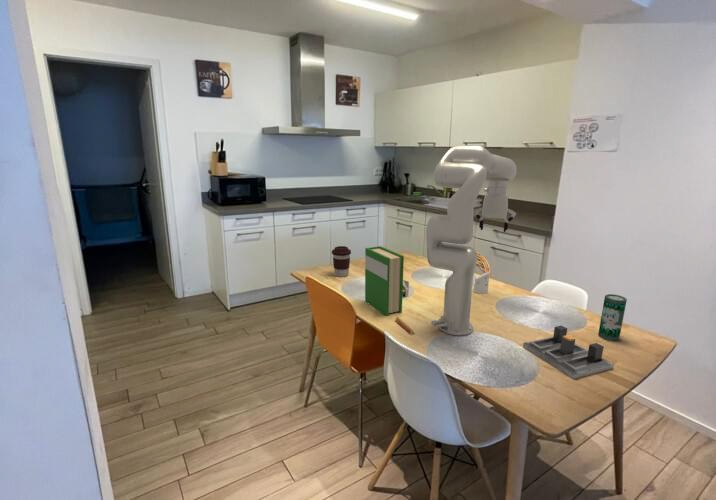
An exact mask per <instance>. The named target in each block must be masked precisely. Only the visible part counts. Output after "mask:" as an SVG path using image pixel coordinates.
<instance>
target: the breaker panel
mask: <svg viewBox="0 0 716 500" xmlns="http://www.w3.org/2000/svg"><path fill="white" fill-rule="evenodd" d="M567 333H568V327H566V326H563V325H556V326H555V327H554V330H553V336H550V337H546V338H545V337H544V338H541V339H540V338H539V339H535V340H532V341H526V342H523V343H522V344H523V345H522V348H523V349H525V350H527V351H529V353H531V354H532V355H534V356H536V357H538V358H539V359H541V360H542V361H544V362H546V363H548V364H549V365H551V366H553V368H555V369H557V370H559V371H561V373H563V374H565V375H567V376H568V377H570V378H571V379H573V380H577V379H580V378H583V377H588V376H591V375H594V374H599V373H601V372H605V371H609V370H612V369H614V365H615V364H614V363H613V362H611V361H609V360H607V359H605V358H604V357H603V353H604V345H601V344H599V343H598V342H596V343H595V342H594V343H591V344H588V349H587V348H585V347H583V346H581V345H578V344H577V343H575V345H574V351H573V353H571V354H567V355H565V354H563V353H561V352H560V347H561V340H562V337H563V336H566V335H568V334H567Z"/></svg>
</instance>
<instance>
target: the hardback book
mask: <svg viewBox="0 0 716 500" xmlns="http://www.w3.org/2000/svg"><path fill="white" fill-rule="evenodd" d="M364 252H365V254H364V255H365V257H364V258H365V260H364V262H365V263H364V265H365V266H364V267H365V269H364V271H365V272H364V276H365V277H364V279H365V281H364V284H365V285H364V302H365V301H366V304H368V303H369V304H368V305H370V306H371V307H373V308H374V309H375V310H377V311H378V312H380V313H382V314H383V315H385V317H389V314H392V313H396V312H398V313H399V314H402V313H403V296H402V294H403V280H404V265H405V264H404V262H405V261H404V260H405V259H404V258H405V257H404V255H402V254H400V253H398V252H395V251H393V250H391V249H389V248H386V247H383V246H381V245H379V246H373V247H365V249H364Z"/></svg>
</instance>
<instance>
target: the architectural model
mask: <svg viewBox="0 0 716 500" xmlns="http://www.w3.org/2000/svg"><path fill="white" fill-rule="evenodd" d="M409 286H410V281H409V280H406V279H403V294H402V295H405V298H408V297H409V288H410V287H409ZM407 296H408V297H407Z"/></svg>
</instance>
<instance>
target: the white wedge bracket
mask: <svg viewBox="0 0 716 500" xmlns="http://www.w3.org/2000/svg"><path fill="white" fill-rule="evenodd" d="M489 281H490V272H489V271H487V272H484V273H483V274H481V275H478V276H477V277H475V278H474V284H473V288H472V292H474V293H475V294H489V283H490V282H489Z"/></svg>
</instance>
